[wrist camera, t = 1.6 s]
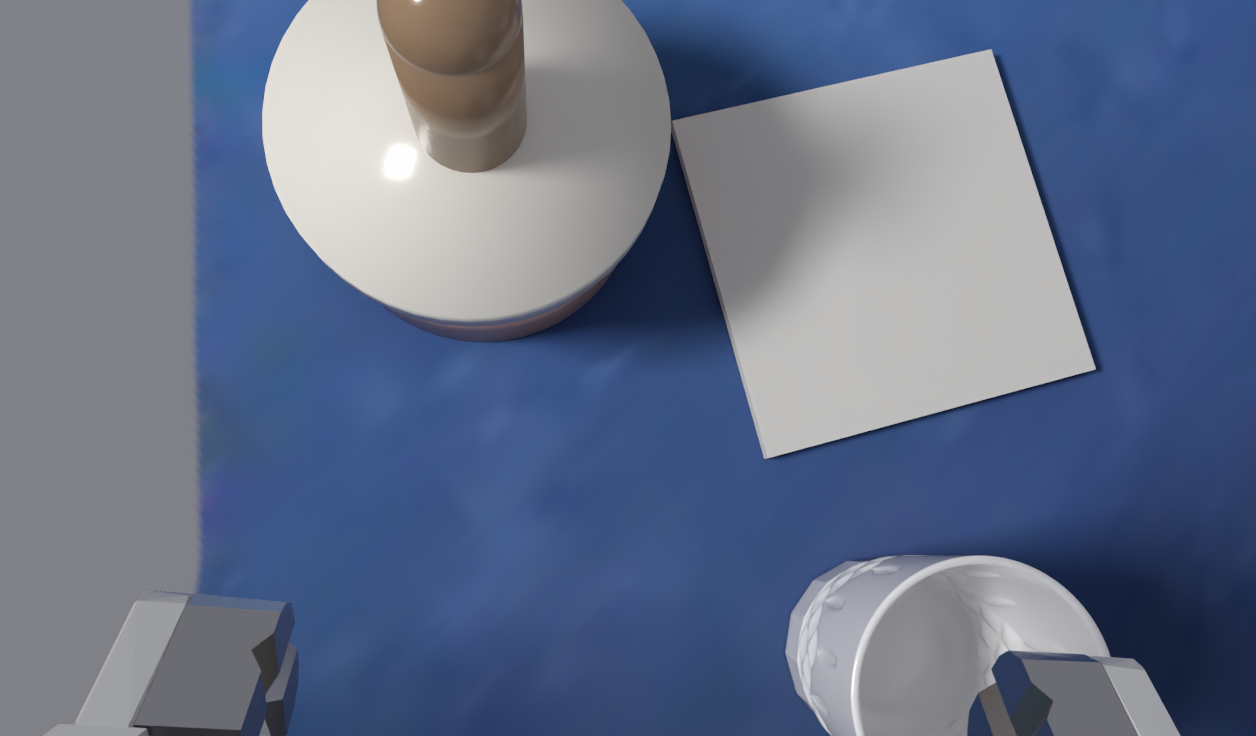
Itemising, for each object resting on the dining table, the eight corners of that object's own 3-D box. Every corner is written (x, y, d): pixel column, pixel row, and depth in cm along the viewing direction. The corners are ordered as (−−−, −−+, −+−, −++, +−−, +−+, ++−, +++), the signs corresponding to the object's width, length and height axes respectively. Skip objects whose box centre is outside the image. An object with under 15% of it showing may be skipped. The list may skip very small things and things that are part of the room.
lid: (610, -76, 34) (639, -321, 24) (709, 274, 33) (784, 170, 23) (237, -3, 33) (101, -231, 23) (323, 369, 31) (219, 302, 21)
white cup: (905, 507, 38) (1030, 507, 29) (1005, 688, 38) (1169, 751, 28) (732, 605, 37) (801, 640, 27) (833, 794, 37) (941, 899, 27)
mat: (985, 55, 42) (991, 48, 41) (1087, 371, 40) (1095, 369, 39) (670, 126, 40) (672, 120, 39) (764, 459, 38) (767, 458, 38)
